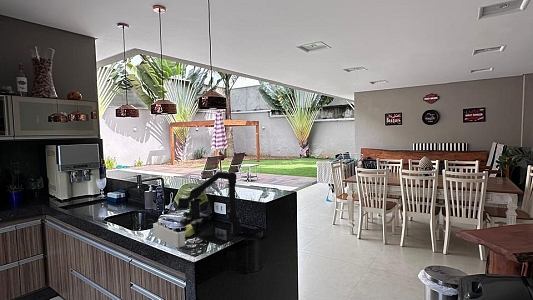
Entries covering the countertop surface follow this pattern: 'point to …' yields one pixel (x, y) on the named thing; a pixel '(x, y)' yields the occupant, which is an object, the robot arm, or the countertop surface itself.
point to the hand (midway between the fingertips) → (195, 233)
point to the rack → (168, 235)
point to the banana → (189, 231)
